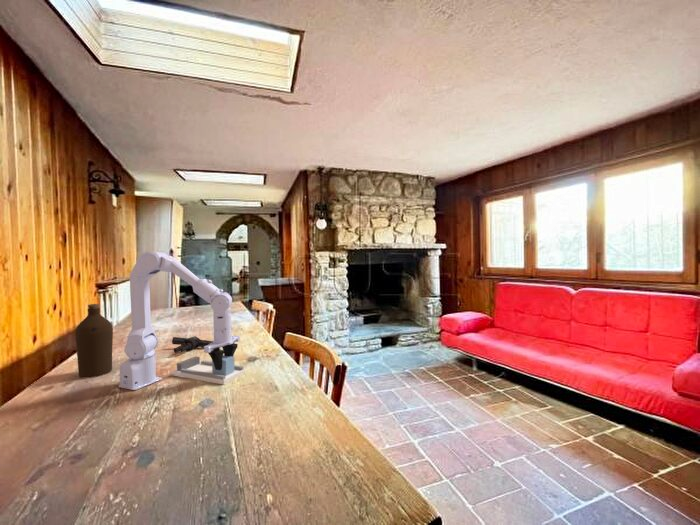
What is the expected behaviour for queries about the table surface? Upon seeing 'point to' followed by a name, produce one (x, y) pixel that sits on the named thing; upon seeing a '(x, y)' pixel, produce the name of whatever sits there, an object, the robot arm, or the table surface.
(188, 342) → the black forked piece
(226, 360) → the block
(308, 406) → the table surface
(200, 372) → the rail board
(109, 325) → the olive oil
